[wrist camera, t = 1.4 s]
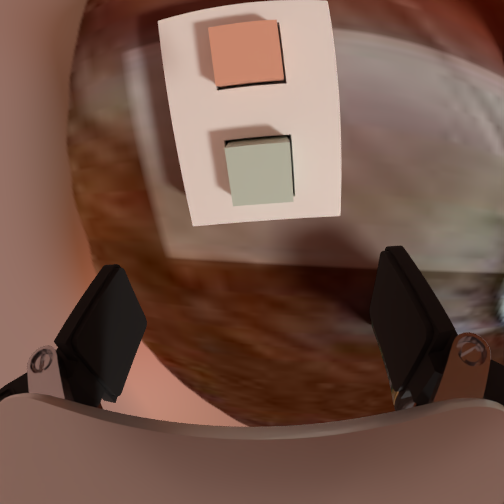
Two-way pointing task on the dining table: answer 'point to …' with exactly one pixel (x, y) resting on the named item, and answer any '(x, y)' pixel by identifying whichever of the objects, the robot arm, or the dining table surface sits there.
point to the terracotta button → (246, 53)
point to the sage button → (260, 170)
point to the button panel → (256, 110)
